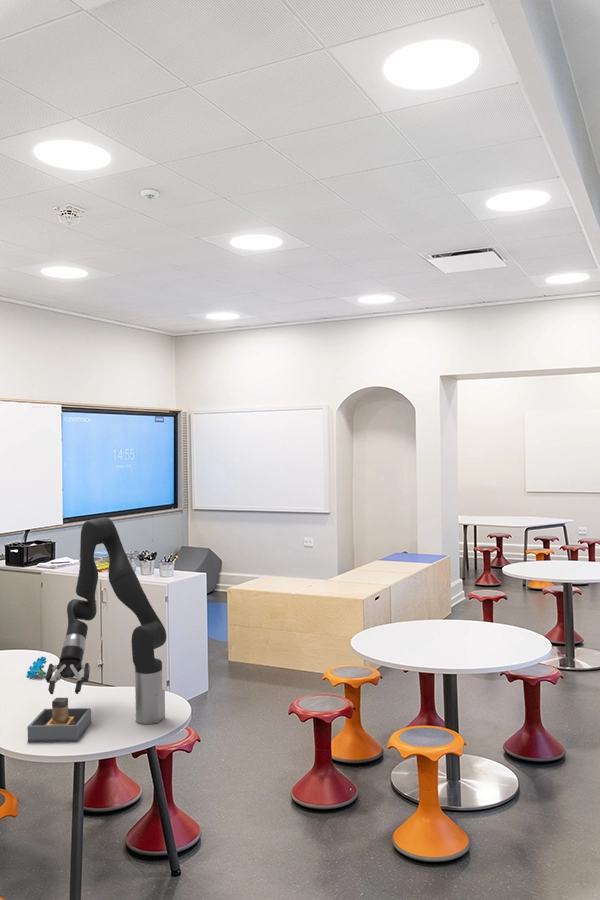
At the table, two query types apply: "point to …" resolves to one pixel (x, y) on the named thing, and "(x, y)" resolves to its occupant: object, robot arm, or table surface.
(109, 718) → the table surface
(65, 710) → the plug
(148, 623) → the robot arm
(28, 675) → the blue lumpy cluster
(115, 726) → the table surface
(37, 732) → the box
